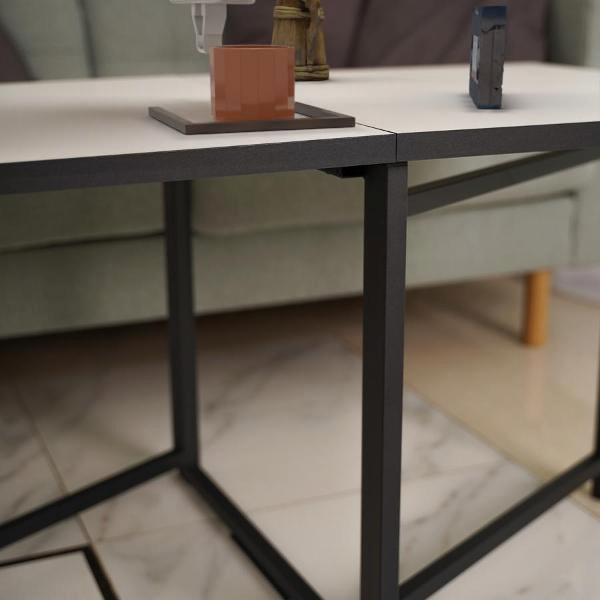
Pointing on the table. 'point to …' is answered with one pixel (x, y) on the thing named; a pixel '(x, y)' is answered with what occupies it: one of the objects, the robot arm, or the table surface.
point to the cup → (252, 82)
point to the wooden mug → (302, 36)
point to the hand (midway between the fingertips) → (209, 53)
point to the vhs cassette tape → (487, 55)
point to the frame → (258, 121)
